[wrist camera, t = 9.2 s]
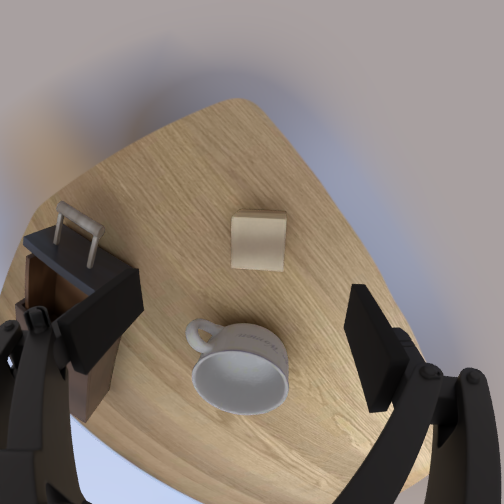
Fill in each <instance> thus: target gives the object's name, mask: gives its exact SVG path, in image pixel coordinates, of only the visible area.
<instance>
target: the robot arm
mask: <svg viewBox="0 0 504 504" xmlns="http://www.w3.org/2000/svg"><path fill="white" fill-rule="evenodd" d="M143 311H144V307H143V300H142V293H141V285H140V277H139V269H136V268H127V269H125V270H124V271H123V272H121V273H120V274H118V275H117V276H116V277H114V278H113V279H111V280H110V281H109V282H107V283H106V284H104V285H103V286H102V287H100V288H99V289H98V290H96V291H95V292H94V293H92V294H91V295H90V296H88V297H87V298H86V299H84V300H83V301H82V302H80V303H77V304H76V305H74V306H73V307H72V308H70V309H69V310H68V311H66V313H64V314H62V315H61V316H60V317H59V318H57V319H56V320H55V321H54V322H52V323H51V320H50V317H49V314H48V310H47V308H46V307H44V306H35V307H32V308H30V309H28V310H26V311H25V312H24V314H23V316H24V319H25V322H26V325H27V328H28V330H22V329H21V326H20V324H19V322H18V321H16V320H8V321H6V322H5V323H3V324H2V325H1V326H0V504H92V503H90V502H88V501H86V499H85V498H84V496H83V494H82V493H81V490H80V487H79V483H78V477H77V472H76V466H75V460H74V453H73V445H72V436H71V425H70V410H69V371H68V368H67V366H66V365H67V364H68V363H69V362H70V361H71V364H72V366H73V369H74V371H76V372H78V373H81V374H84V375H87V374H88V373H89V372H90V371H91V369H92V368H93V367H94V366H95V365H96V364H97V362H98V361H99V360H100V359H101V358H102V357H103V356H104V354H105V353H106V352H107V351H108V350H109V349H110V348H111V346H112V345H113V344H114V343H115V342H116V341H117V340H118V338H119V337H120V336H121V335H122V334H123V333H124V332H125V331H126V329H127V328H128V327H129V326H130V325H131V324H132V323H133V322H134V321H135V320H136V318H137V317H138V316H139V315H140V314H141V313H142V312H143ZM344 330H345V333H346V336H347V339H348V343H349V346H350V349H351V352H352V355H353V358H354V361H355V365H356V368H357V371H358V375H359V378H360V381H361V385H362V388H363V392H364V395H365V399H366V402H367V406H368V410H369V413H375V412H385V411H387V410H388V408H389V406H390V404H391V401H392V404H393V407H394V410H393V412H392V414H391V416H390V418H389V420H388V421H387V423H386V425H385V427H384V429H383V430H382V432H381V434H380V436H379V437H378V439H377V441H376V442H375V444H374V446H373V447H372V449H371V450H370V452H369V454H368V455H367V457H366V458H365V460H364V461H363V463H362V464H361V466H360V467H359V469H358V470H357V472H356V473H355V474H354V476H353V477H352V479H351V480H350V481H349V483H348V484H347V485H346V487H345V488H344V489H343V491H342V492H341V493H340V494H339V496H338V497H337V498H336V499H335V501H334V502H333V503H332V504H394V502H395V500H396V498H397V496H398V494H399V493H400V491H401V489H402V487H403V485H404V483H405V481H406V479H407V477H408V475H409V473H410V471H411V469H412V467H413V465H414V463H415V460H416V458H417V456H418V453H419V451H420V449H421V446H422V444H423V441H424V439H425V436H426V433H427V431H428V428H429V425H430V424H433V442H432V454H431V464H430V472H429V480H428V486H427V492H426V498H425V503H424V504H501V465H500V452H499V442H498V434H497V428H496V422H495V416H494V410H493V406H492V400H491V396H490V391H489V387H488V383H487V379H486V377H485V375H484V374H483V373H482V372H481V371H479V370H478V369H474V368H465V369H463V370H462V371H461V372H460V374H459V376H458V377H449V376H443V373H442V371H441V370H440V369H439V368H438V367H437V366H435V365H433V364H430V363H426V362H425V361H424V359H423V357H422V356H421V354H420V352H419V351H418V349H417V348H416V347H415V344H414V343H413V341H411V338H410V337H409V335H408V334H407V333H406V332H405V331H404V330H402V329H401V328H392V327H391V325H390V324H389V322H388V320H387V319H386V317H385V315H384V314H383V312H382V310H381V309H380V307H379V306H378V304H377V302H376V301H375V299H374V298H373V296H372V295H371V293H370V291H369V290H368V288H367V287H366V285H365V284H352V286H351V292H350V298H349V303H348V308H347V313H346V318H345V323H344ZM8 357H10V359H11V361H12V363H13V365H12V367H10V366H9V364H8V362H7V360H8Z"/></svg>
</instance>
